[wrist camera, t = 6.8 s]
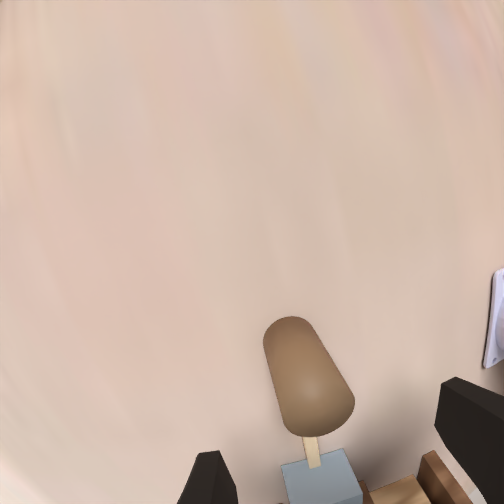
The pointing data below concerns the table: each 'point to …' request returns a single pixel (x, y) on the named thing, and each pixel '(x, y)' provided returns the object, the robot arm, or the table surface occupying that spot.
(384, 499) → the oak block
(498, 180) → the table surface
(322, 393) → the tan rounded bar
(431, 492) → the walnut shelf
